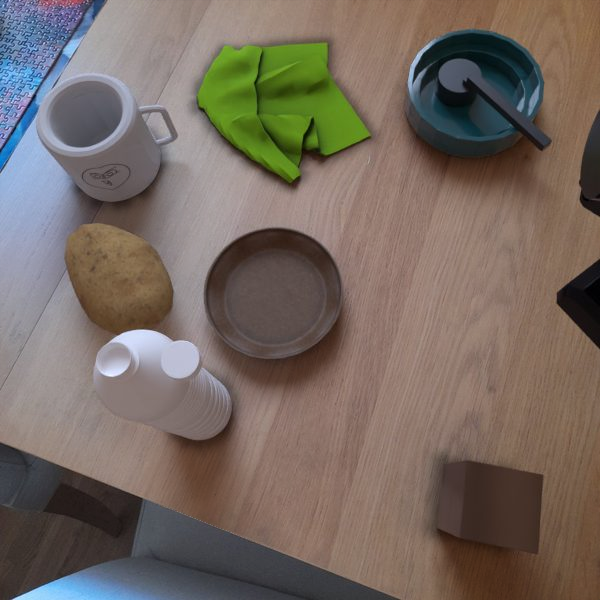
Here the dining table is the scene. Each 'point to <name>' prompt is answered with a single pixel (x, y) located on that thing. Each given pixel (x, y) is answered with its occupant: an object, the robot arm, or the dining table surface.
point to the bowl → (477, 114)
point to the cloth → (279, 104)
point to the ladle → (468, 83)
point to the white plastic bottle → (161, 385)
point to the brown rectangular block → (491, 505)
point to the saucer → (273, 293)
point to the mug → (101, 136)
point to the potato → (118, 278)
